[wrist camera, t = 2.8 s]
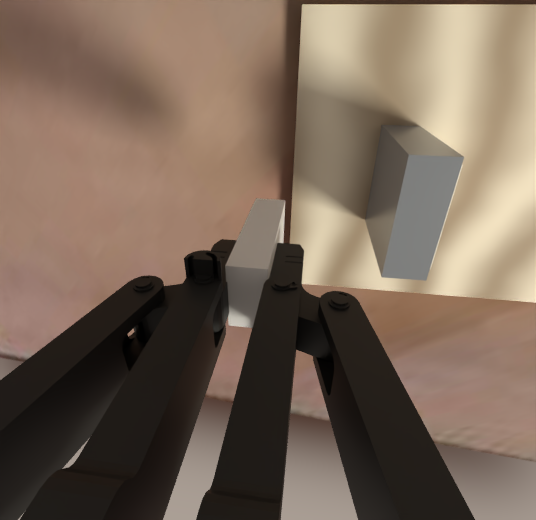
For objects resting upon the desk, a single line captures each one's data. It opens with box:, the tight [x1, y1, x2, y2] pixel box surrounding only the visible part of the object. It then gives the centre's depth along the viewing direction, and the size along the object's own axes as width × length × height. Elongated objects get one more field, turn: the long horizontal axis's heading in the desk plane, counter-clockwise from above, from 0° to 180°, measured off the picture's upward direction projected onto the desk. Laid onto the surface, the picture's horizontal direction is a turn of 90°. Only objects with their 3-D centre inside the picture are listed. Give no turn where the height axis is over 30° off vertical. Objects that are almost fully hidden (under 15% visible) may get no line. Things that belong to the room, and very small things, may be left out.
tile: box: [365, 125, 464, 281], centre depth 21 cm, size 3×7×8 cm, turn 179°
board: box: [290, 4, 536, 302], centre depth 25 cm, size 24×20×1 cm
